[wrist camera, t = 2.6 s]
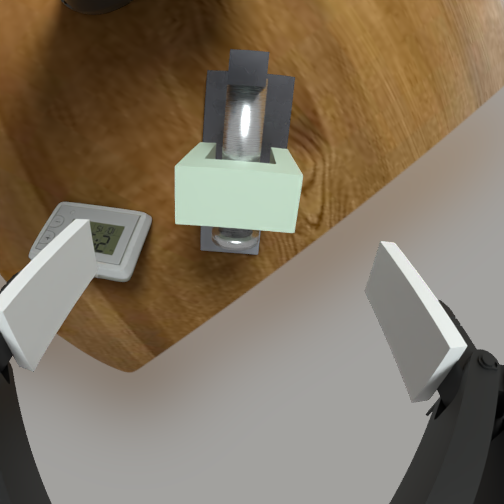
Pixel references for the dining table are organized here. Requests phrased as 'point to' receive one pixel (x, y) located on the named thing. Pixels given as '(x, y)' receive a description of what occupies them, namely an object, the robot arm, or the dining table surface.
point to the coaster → (210, 246)
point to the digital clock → (102, 236)
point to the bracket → (237, 191)
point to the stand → (246, 122)
